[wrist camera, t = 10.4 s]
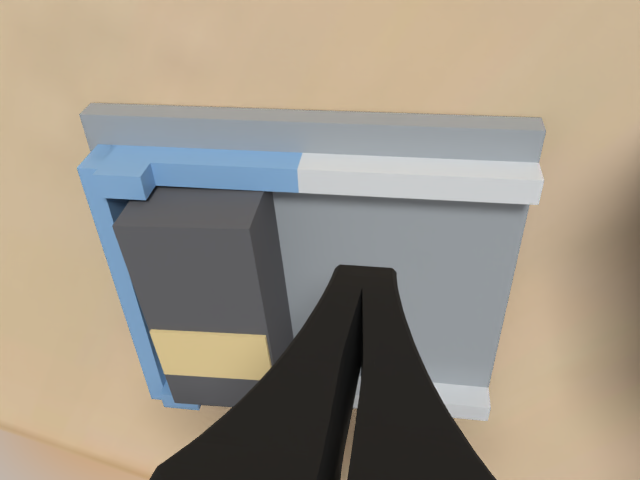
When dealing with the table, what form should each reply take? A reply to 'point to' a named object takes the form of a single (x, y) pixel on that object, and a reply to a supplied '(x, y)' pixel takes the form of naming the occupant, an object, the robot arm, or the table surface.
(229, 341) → the block
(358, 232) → the tray
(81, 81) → the table surface
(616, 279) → the table surface
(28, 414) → the table surface
